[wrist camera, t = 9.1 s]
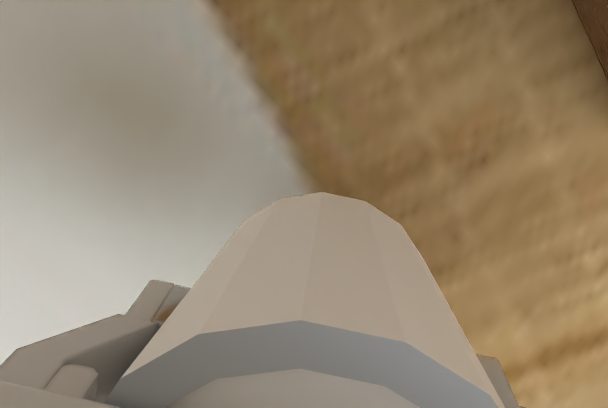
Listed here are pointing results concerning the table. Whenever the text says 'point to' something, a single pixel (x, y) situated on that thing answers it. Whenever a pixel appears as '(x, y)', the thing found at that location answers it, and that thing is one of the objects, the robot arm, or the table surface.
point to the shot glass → (311, 322)
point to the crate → (596, 26)
